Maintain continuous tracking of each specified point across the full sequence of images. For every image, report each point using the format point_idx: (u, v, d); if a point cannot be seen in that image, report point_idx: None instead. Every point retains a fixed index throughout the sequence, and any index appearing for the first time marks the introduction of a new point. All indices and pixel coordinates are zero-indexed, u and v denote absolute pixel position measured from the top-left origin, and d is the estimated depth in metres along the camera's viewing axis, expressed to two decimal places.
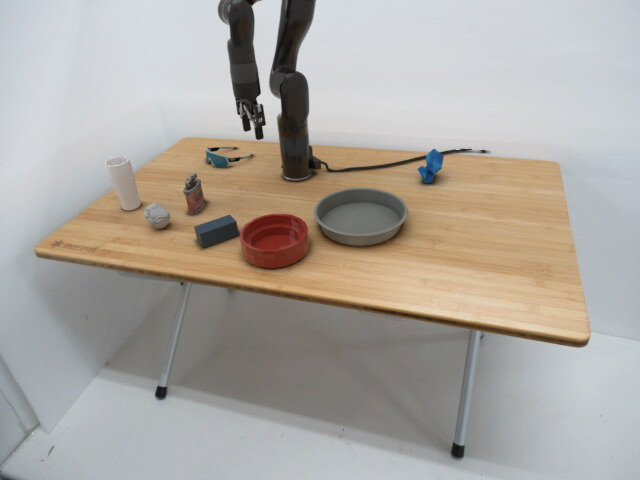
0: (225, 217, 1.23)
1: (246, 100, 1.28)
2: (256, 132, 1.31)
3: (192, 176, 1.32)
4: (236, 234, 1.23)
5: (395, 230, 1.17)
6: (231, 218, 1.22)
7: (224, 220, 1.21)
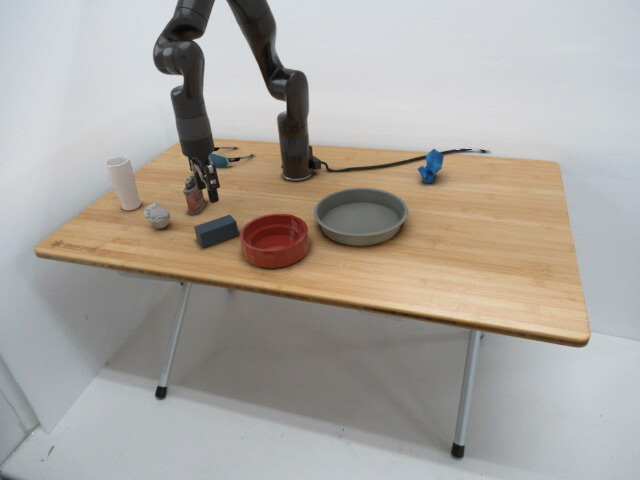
0: (225, 217, 1.23)
1: (197, 158, 1.08)
2: (209, 194, 1.11)
3: (192, 176, 1.32)
4: (236, 234, 1.23)
5: (395, 230, 1.17)
6: (231, 218, 1.22)
7: (224, 220, 1.21)
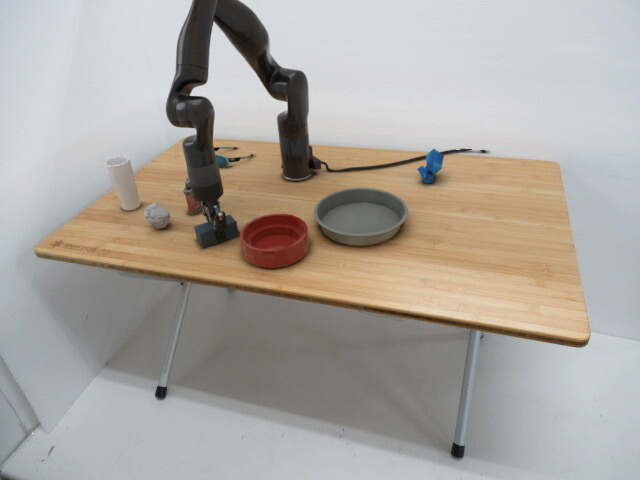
0: None
1: (207, 201, 1.15)
2: (217, 235, 1.19)
3: None
4: (236, 234, 1.23)
5: (395, 230, 1.17)
6: (231, 218, 1.22)
7: None
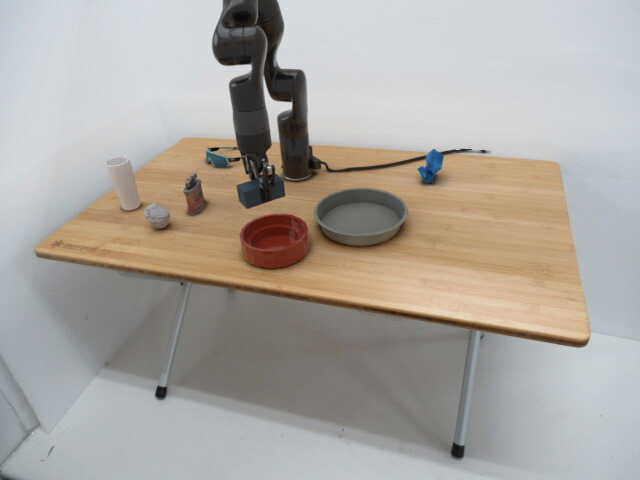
0: None
1: (253, 154, 1.01)
2: (262, 194, 1.05)
3: (192, 176, 1.32)
4: (282, 195, 1.09)
5: (395, 230, 1.17)
6: (277, 176, 1.09)
7: None
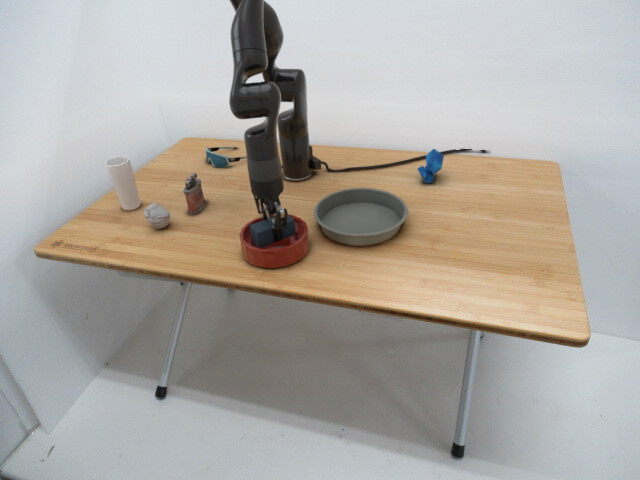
0: None
1: (266, 198, 1.07)
2: (275, 234, 1.11)
3: (192, 176, 1.32)
4: (293, 233, 1.15)
5: (395, 230, 1.17)
6: (288, 216, 1.14)
7: None
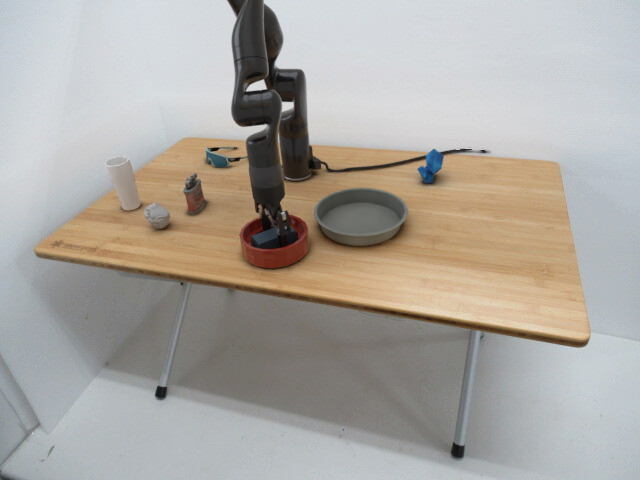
0: None
1: (268, 203, 1.08)
2: (279, 239, 1.10)
3: (192, 176, 1.32)
4: None
5: (395, 230, 1.17)
6: None
7: None
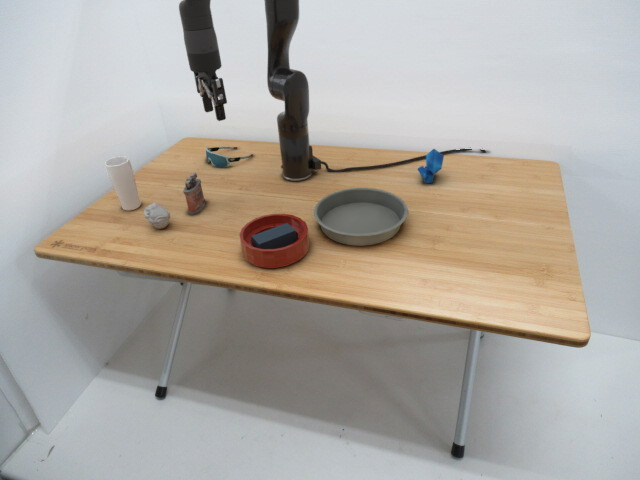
0: (283, 226, 1.16)
1: (204, 74, 1.11)
2: (216, 111, 1.14)
3: (192, 176, 1.32)
4: None
5: (395, 230, 1.17)
6: (289, 227, 1.16)
7: (282, 229, 1.15)
